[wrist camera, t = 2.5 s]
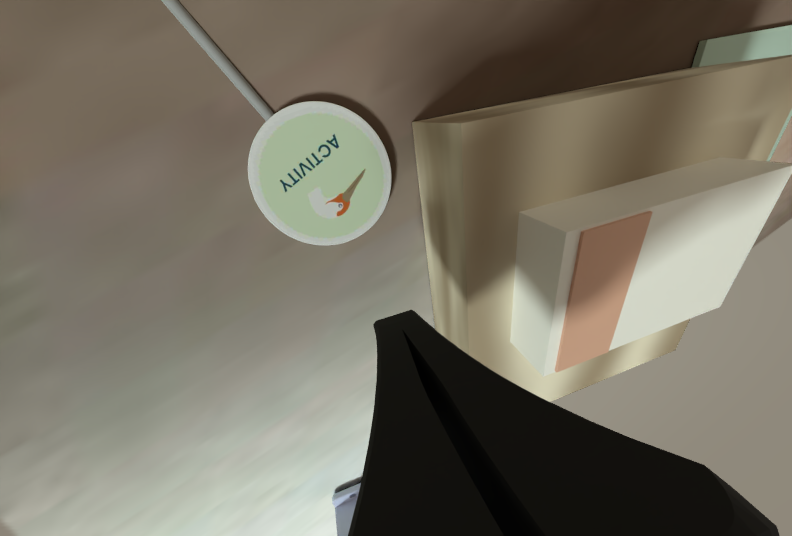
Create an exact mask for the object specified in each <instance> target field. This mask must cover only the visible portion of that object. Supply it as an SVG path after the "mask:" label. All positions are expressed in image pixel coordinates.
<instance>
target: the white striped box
mask: <svg viewBox="0 0 792 536" xmlns="http://www.w3.org/2000/svg"><path fill="white" fill-rule="evenodd" d="M791 174H792V164H791V163H780V162H769V161H758V160H747V159H736V158H725V157H719V158H715V159H711V160H708V161H704V162H700V163H697V164H693V165H689V166H686V167H682V168H678V169H675V170H671V171H667V172H664V173H660V174H656V175H653V176H649V177H645V178H642V179H638V180H634V181H631V182H627V183H624V184H620V185H616V186H613V187H609V188H605V189H602V190H598V191H594V192H591V193H587V194H583V195H580V196H576V197H572V198H569V199H565V200H561V201H558V202H554V203H550V204H547V205H543V206H539V207H536V208H532V209H528V210H525V211H521V212H519V218H518V233H517V248H516V263H515V278H514V292H513V307H512V322H511V337H510V342H511V343H512V344H513V345H514V346H515V347H516V348H517V349H518V351H519V352H520V353H521V354H522V355H523V356H524V357H525V358H526V359H527V360H528V361H529V362H530V363H531V364H532V365H533V367H534V368H535V369H536V370H537V371H538V372H539V373H540V374H541V375H542V376H543V377H544V376H546V375H549V374H551V373H554V372H556V373H557V372H559V371H562V370H565V369H567V368H570V367H572V366H575V365H577V364H580V363H582V362H585V361H587V360H590V359H592V358H595V357H597V356H600V355H602V354H605V353H607V352H609V351H610V350H612V349H615V348H617V347H620V346H622V345H625V344H627V343H630V342H632V341H635V340H637V339H640V338H642V337H645V336H648V335H650V334H653V333H655V332H658V331H660V330H663V329H665V328H668V327H670V326H673V325H675V324H678V323H680V322H683V321H685V320H688V319H691V318H693V317H696V316H698V315H701V314H703V313H705V312H708V311H711V310H713V309H716V308H718V307H720V306H721V304H722V302H723V300H724V299H725V297H726V295H727V293H728V291H729V289H730V287H731V286H732V284H733V282H734V280H735V278H736V276H737V274H738V272H739V271H740V269H741V267H742V265H743V263H744V261H745V259H746V257H747V256H748V254H749V252H750V250H751V248H752V246H753V245H754V243H755V241H756V239H757V237H758V235H759V233H760V232H761V230H762V228H763V226H764V224H765V222H766V220H767V218H768V217H769V215H770V213H771V211H772V209H773V207H774V205H775V204H776V202H777V200H778V198H779V196H780V194H781V192H782V190H783V189H784V187H785V185H786V183H787V181H788V179H789V177H790V176H791Z"/></svg>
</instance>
